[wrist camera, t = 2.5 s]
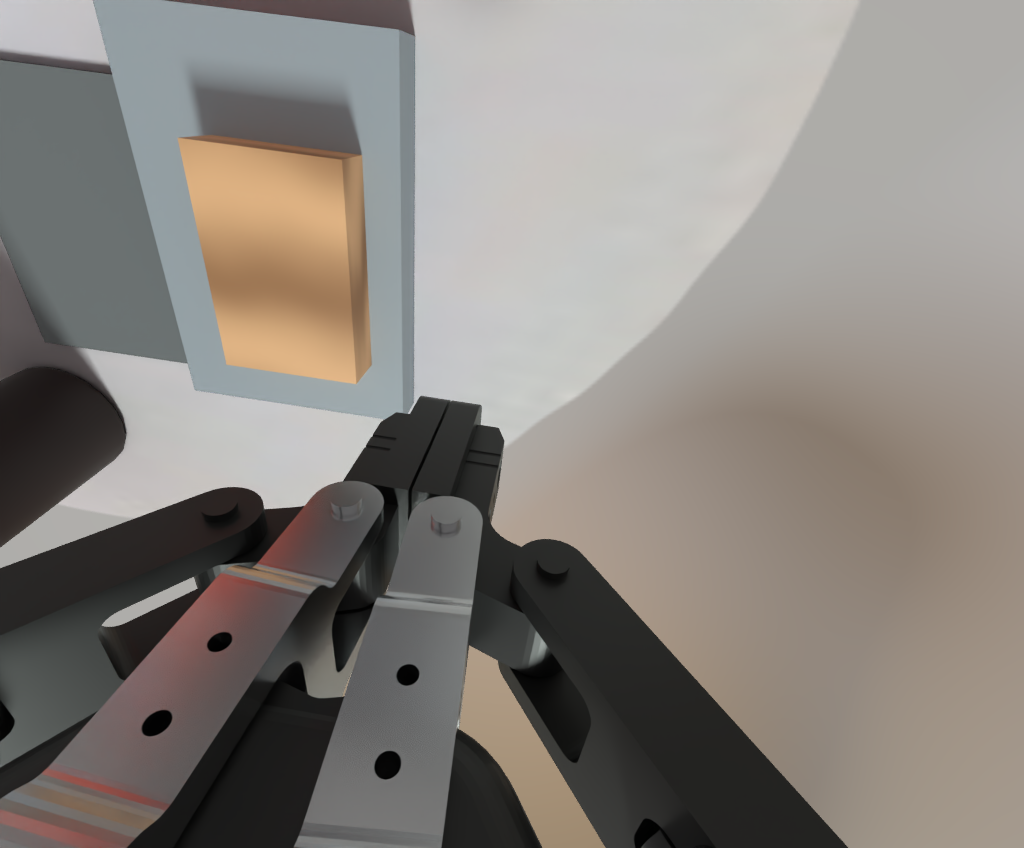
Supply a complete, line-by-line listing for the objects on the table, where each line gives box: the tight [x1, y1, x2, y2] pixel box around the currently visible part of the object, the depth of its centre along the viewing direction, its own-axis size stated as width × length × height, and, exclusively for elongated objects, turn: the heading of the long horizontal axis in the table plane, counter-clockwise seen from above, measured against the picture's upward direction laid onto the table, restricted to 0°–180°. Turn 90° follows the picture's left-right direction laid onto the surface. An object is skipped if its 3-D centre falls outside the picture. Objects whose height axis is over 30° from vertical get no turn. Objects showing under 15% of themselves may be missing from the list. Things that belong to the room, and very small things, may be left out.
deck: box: [93, 0, 415, 419], centre depth 23 cm, size 16×11×2 cm
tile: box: [178, 135, 372, 384], centre depth 21 cm, size 9×6×2 cm, turn 174°
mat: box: [0, 60, 188, 364], centre depth 24 cm, size 13×9×1 cm
